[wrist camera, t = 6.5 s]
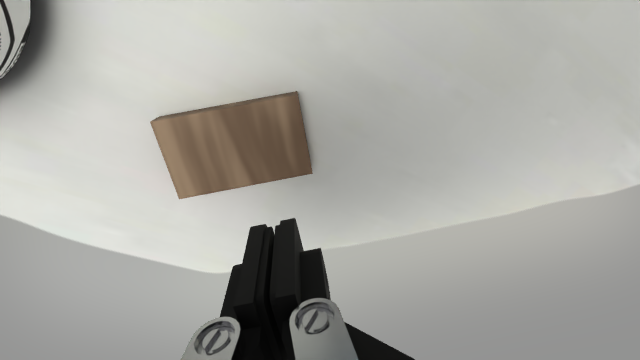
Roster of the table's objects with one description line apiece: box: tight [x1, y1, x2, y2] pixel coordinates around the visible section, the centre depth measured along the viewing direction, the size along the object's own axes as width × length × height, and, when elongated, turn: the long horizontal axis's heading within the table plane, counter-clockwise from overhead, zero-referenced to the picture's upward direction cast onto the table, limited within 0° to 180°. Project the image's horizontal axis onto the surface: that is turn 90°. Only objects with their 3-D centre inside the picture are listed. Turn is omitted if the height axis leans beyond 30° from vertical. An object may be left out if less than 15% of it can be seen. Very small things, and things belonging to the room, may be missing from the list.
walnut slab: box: [150, 91, 313, 199], centre depth 29 cm, size 2×7×12 cm
